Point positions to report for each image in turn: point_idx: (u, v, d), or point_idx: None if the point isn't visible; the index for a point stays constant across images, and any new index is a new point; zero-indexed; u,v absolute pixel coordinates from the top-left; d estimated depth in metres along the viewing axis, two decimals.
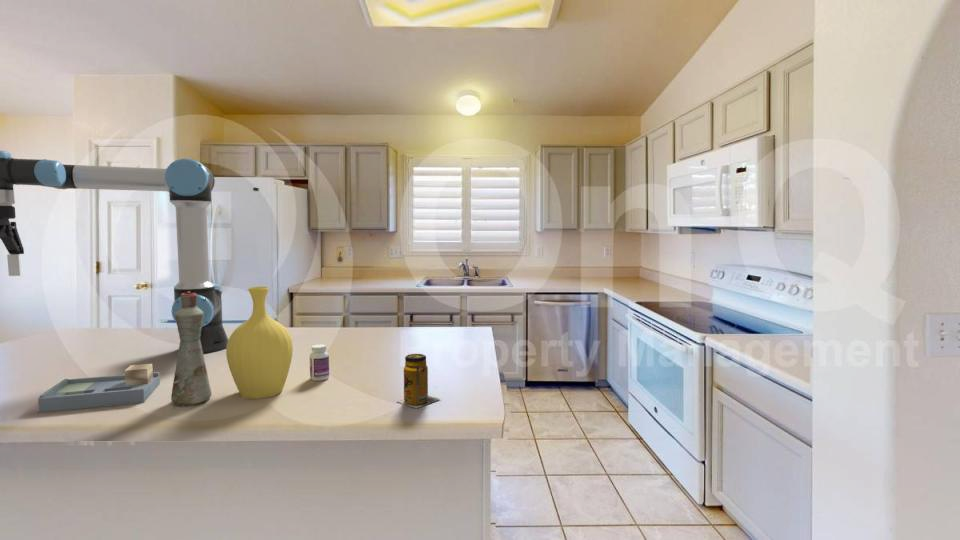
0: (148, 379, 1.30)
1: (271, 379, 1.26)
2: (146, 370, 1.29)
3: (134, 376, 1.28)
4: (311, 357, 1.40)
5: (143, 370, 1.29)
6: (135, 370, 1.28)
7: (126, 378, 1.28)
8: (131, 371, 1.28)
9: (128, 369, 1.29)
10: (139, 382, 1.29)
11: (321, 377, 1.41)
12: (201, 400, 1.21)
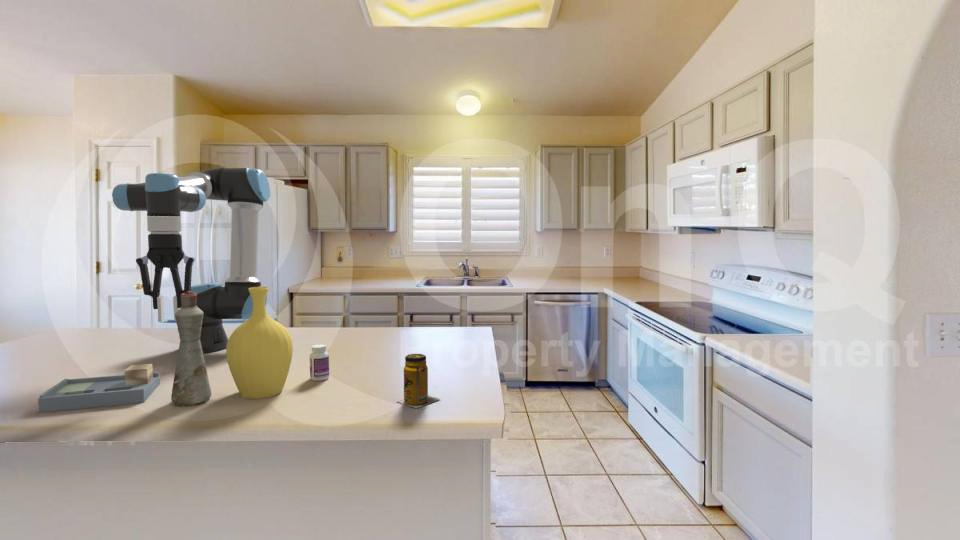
0: (148, 379, 1.30)
1: (271, 379, 1.26)
2: (146, 370, 1.29)
3: (134, 376, 1.28)
4: (311, 357, 1.40)
5: (143, 370, 1.29)
6: (135, 370, 1.28)
7: (126, 378, 1.28)
8: (131, 371, 1.28)
9: (128, 369, 1.29)
10: (139, 382, 1.29)
11: (321, 377, 1.41)
12: (201, 400, 1.21)
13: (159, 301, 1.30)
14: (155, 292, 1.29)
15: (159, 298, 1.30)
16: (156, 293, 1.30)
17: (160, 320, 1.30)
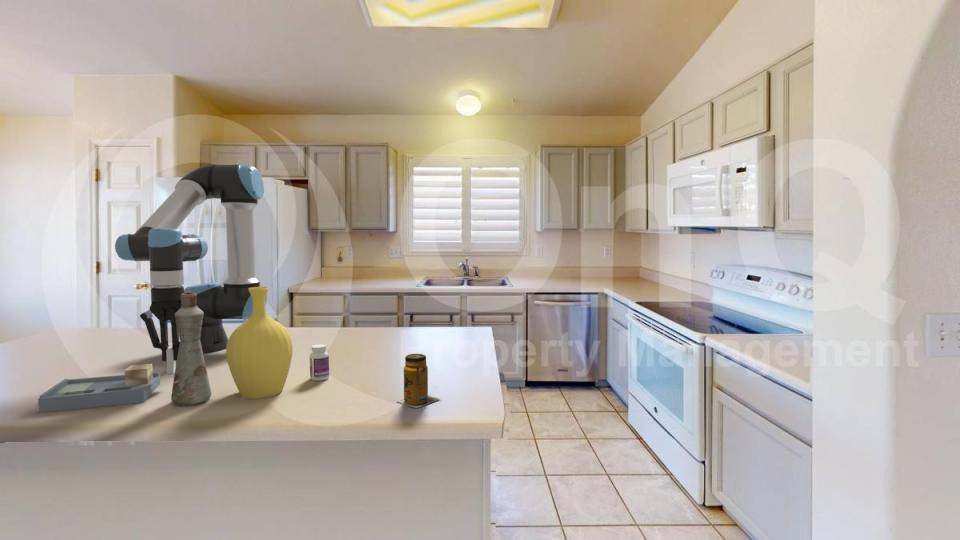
0: (148, 379, 1.30)
1: (271, 379, 1.26)
2: (146, 370, 1.29)
3: (134, 376, 1.28)
4: (311, 357, 1.40)
5: (143, 370, 1.29)
6: (135, 370, 1.28)
7: (126, 378, 1.28)
8: (131, 371, 1.28)
9: (128, 369, 1.29)
10: (139, 382, 1.29)
11: (321, 377, 1.41)
12: (201, 400, 1.21)
13: (168, 353, 1.32)
14: (164, 345, 1.31)
15: (168, 351, 1.32)
16: (165, 345, 1.31)
17: (169, 372, 1.32)
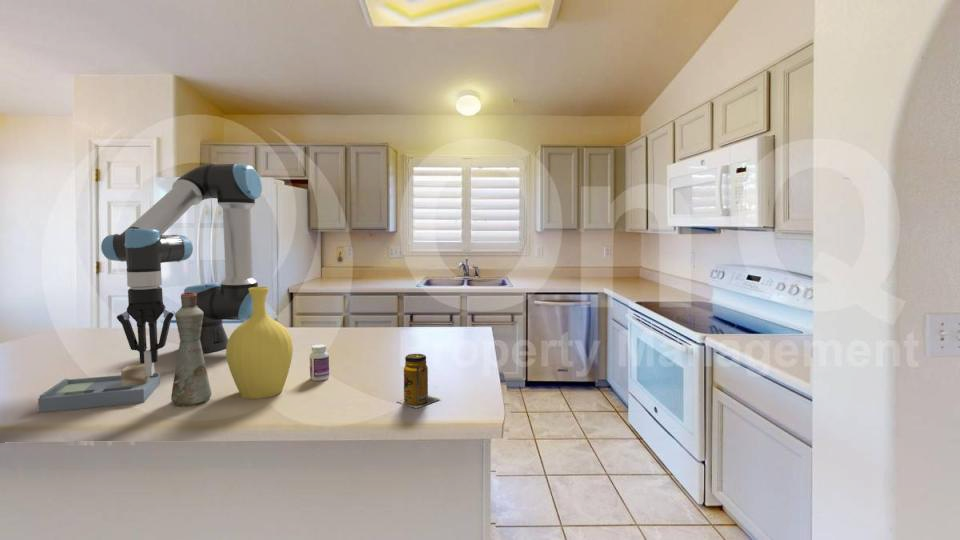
0: (144, 379, 1.30)
1: (271, 379, 1.26)
2: (142, 370, 1.29)
3: (131, 377, 1.28)
4: (311, 357, 1.40)
5: (139, 370, 1.29)
6: (131, 370, 1.28)
7: (122, 378, 1.28)
8: (127, 371, 1.28)
9: (124, 369, 1.28)
10: (135, 382, 1.29)
11: (321, 377, 1.41)
12: (201, 400, 1.21)
13: (146, 356, 1.30)
14: (141, 347, 1.29)
15: (146, 353, 1.30)
16: (142, 347, 1.30)
17: (147, 374, 1.30)
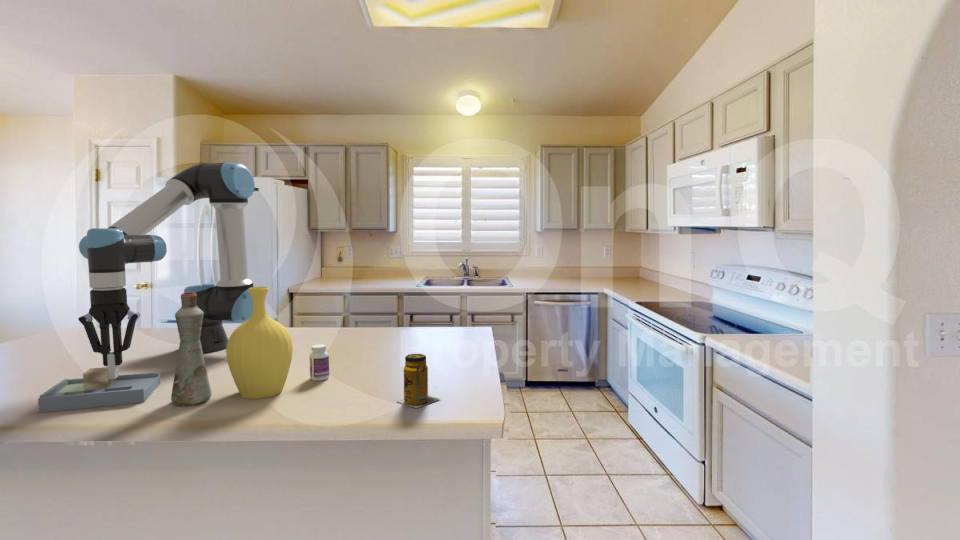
0: (108, 383, 1.27)
1: (271, 379, 1.26)
2: (105, 373, 1.26)
3: (93, 380, 1.25)
4: (311, 357, 1.40)
5: (102, 373, 1.26)
6: (94, 373, 1.25)
7: (84, 382, 1.25)
8: (90, 374, 1.25)
9: (87, 372, 1.25)
10: (98, 386, 1.26)
11: (321, 377, 1.41)
12: (201, 400, 1.21)
13: (109, 358, 1.27)
14: (104, 349, 1.27)
15: (109, 355, 1.27)
16: (106, 350, 1.27)
17: (110, 377, 1.28)
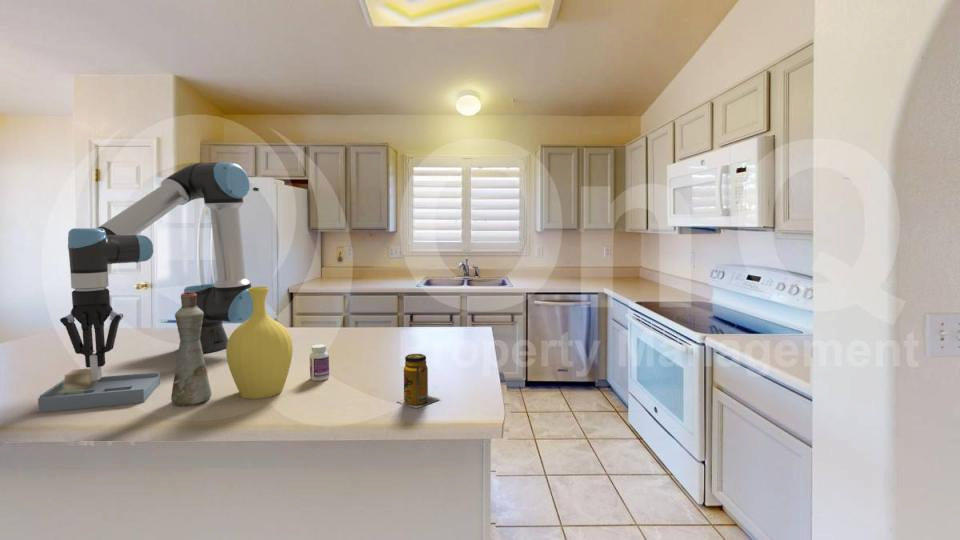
0: (90, 384, 1.26)
1: (271, 379, 1.26)
2: (88, 375, 1.25)
3: (75, 381, 1.24)
4: (311, 357, 1.40)
5: (84, 375, 1.25)
6: (76, 375, 1.24)
7: (66, 383, 1.23)
8: (72, 376, 1.24)
9: (69, 374, 1.24)
10: (80, 387, 1.25)
11: (321, 377, 1.41)
12: (201, 400, 1.21)
13: (92, 359, 1.26)
14: (87, 350, 1.25)
15: (92, 356, 1.26)
16: (88, 351, 1.25)
17: (93, 379, 1.26)
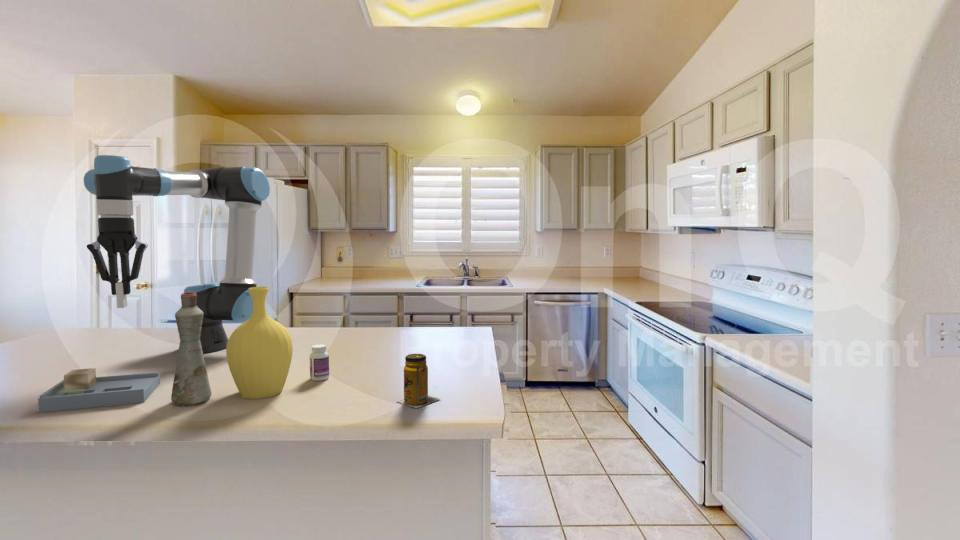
0: (89, 384, 1.26)
1: (271, 379, 1.26)
2: (87, 375, 1.25)
3: (74, 381, 1.24)
4: (311, 357, 1.40)
5: (84, 375, 1.25)
6: (75, 375, 1.24)
7: (65, 383, 1.23)
8: (71, 376, 1.24)
9: (68, 374, 1.24)
10: (79, 387, 1.24)
11: (321, 377, 1.41)
12: (201, 400, 1.21)
13: (117, 287, 1.27)
14: (113, 277, 1.27)
15: (117, 284, 1.27)
16: (114, 278, 1.27)
17: (119, 306, 1.28)
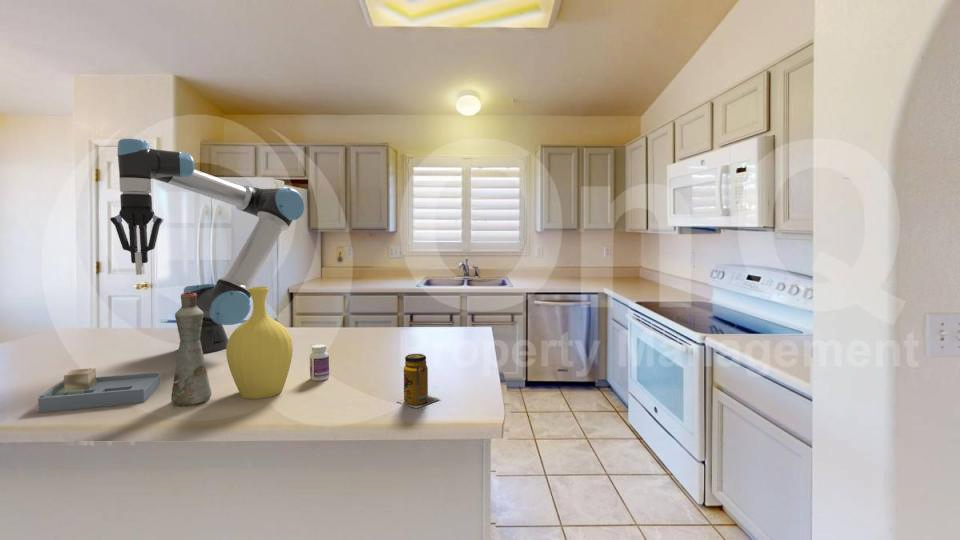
0: (89, 384, 1.26)
1: (271, 379, 1.26)
2: (87, 375, 1.25)
3: (74, 381, 1.24)
4: (311, 357, 1.40)
5: (84, 375, 1.25)
6: (75, 375, 1.24)
7: (65, 383, 1.23)
8: (71, 376, 1.24)
9: (68, 374, 1.24)
10: (79, 387, 1.24)
11: (321, 377, 1.41)
12: (201, 400, 1.21)
13: (137, 256, 1.44)
14: (132, 247, 1.43)
15: (137, 253, 1.44)
16: (134, 248, 1.43)
17: (138, 273, 1.44)
